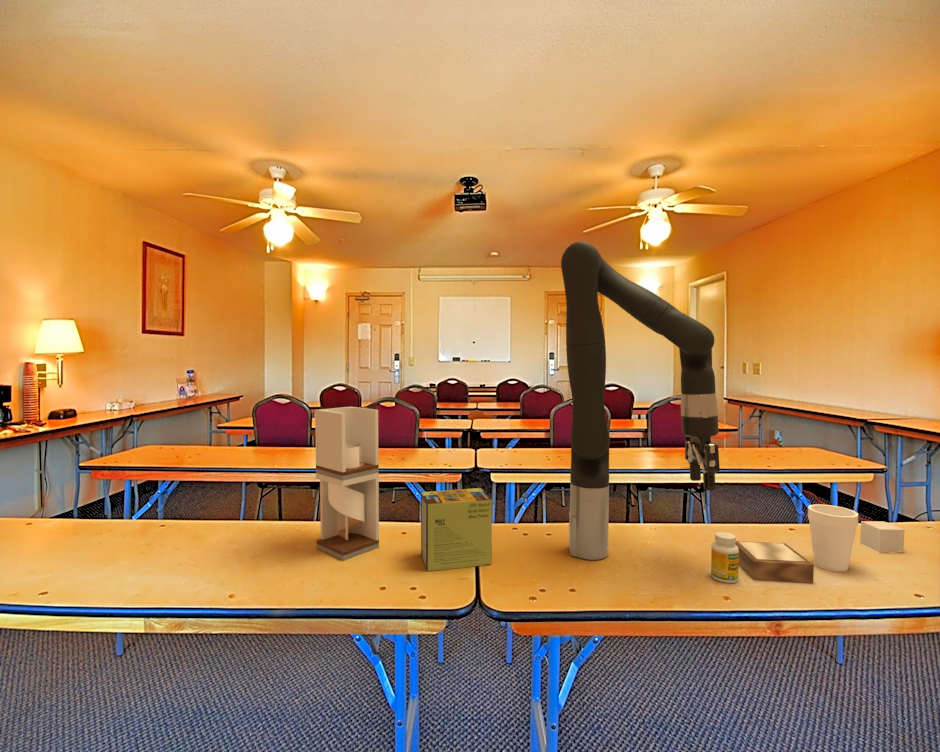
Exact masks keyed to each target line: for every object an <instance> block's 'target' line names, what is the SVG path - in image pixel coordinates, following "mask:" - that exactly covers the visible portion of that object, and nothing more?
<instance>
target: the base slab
mask: <svg viewBox="0 0 940 752" xmlns="http://www.w3.org/2000/svg"><path fill="white" fill-rule="evenodd" d="M735 545H736V546H737V547H738V549H739V566H740V567H741V568H742V570H743V571H744V572H745V573H746V574H747V575H748V576H749V577H750V578H751V579H752V580H754V581H755V580H756V581H769V582H770V581H771V582H772V581H773V582H787V583H803V584H814V576H815V575H814V573H815V572H814V571H815V569H814V567H815V564H814V563H812V562H811V561H809V560H808V559H807V558H805V557H804V556H803V555H801V554H800V553H799V552H798V551H796V550H795V549H794V548H792V547H791V546H789V545H788V544H787V543H785V542H763V541H762V542H761V541H744V540H743V541H741V540H736V542H735Z"/></svg>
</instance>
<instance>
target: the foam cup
mask: <svg viewBox="0 0 940 752" xmlns="http://www.w3.org/2000/svg"><path fill="white" fill-rule="evenodd" d="M807 518H808V521H809V522H808V523H809V531H810V539H811V548H812V549H811V550H812V554H813V555H812V556H813V557H812V558H813V564H814V565H815V566H817V567H819V568H822V569H824V570H828V571H830V572H831V571H832V572H839V573H840V572H842V573H843V572H844V573H845V572H848V570H849V567H850V562H851V556H852V551H853V546H854V541H855V536H856V533H857V532H856V531H857V527H859V513H858V512H856V511H854V510H853V509H849V508H846V507H843V506H837V505H833V504H832V505H831V504H824V503H822V504H818V503H817V504H811V505H808V507H807Z"/></svg>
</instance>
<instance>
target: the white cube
mask: <svg viewBox="0 0 940 752" xmlns="http://www.w3.org/2000/svg"><path fill="white" fill-rule="evenodd" d="M859 539H860V540H859V542H860V543H862V544H864V545H866V546H868V547H870V548H872V549H874V550H876V551H878V552H899V551H900V552H904V550H905V548H904V547H905V529H904V528H902V527H899V526H896V525H895V524H892V523H889V522H886V521H884V520H883V521H879V520H878V521H877V520H874V521H873V520H872V521H869V520H866V521H863V520H862V521H860V537H859ZM860 543H859V544H860ZM862 544H861V545H862ZM864 545H863V546H864ZM866 546H865V547H866ZM868 547H867V548H868ZM870 548H869V549H870ZM872 549H871V550H872ZM874 550H873V551H874ZM876 551H875V552H876ZM878 552H877V553H878Z"/></svg>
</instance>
